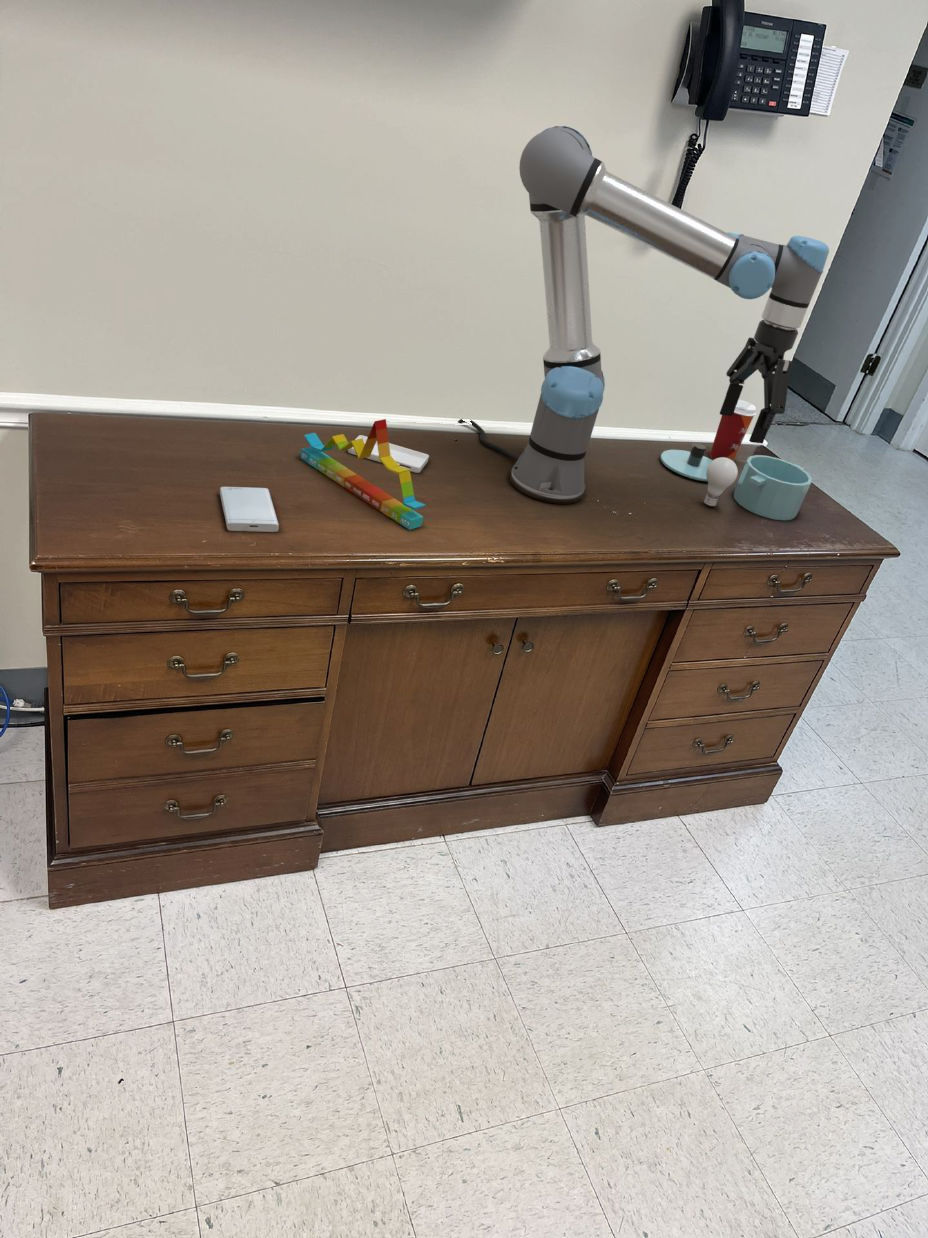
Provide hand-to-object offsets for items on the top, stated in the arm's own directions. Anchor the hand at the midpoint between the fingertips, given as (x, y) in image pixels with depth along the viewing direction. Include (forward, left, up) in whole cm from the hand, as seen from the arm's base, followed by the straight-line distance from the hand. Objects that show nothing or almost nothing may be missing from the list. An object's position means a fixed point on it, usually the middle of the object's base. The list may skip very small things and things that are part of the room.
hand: (740, 428), depth 186 cm
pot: (+5, +15, -18) cm, 24 cm away
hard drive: (-32, -93, -18) cm, 100 cm away
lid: (-14, +13, -17) cm, 26 cm away
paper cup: (-15, +27, -18) cm, 36 cm away
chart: (-32, -70, -18) cm, 79 cm away
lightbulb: (0, 0, -18) cm, 18 cm away
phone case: (-42, -55, -18) cm, 72 cm away
